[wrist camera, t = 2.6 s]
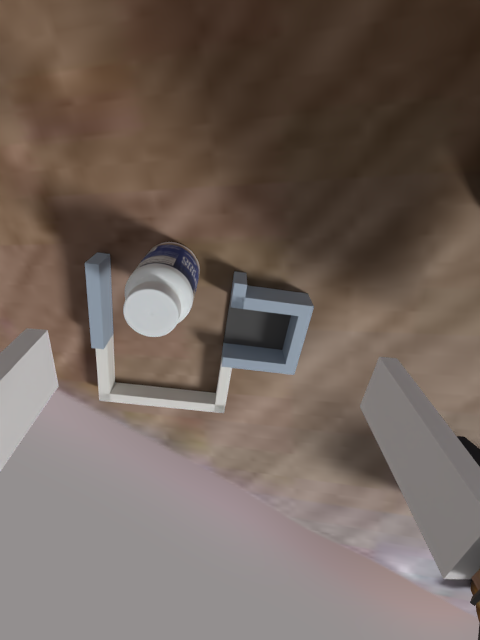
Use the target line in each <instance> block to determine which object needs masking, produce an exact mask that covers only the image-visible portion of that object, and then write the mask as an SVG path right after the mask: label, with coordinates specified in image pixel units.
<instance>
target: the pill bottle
mask: <svg viewBox="0 0 480 640" xmlns="http://www.w3.org/2000/svg"><path fill="white" fill-rule="evenodd" d="M199 273H200V268H199V263H198V260H197V258H196V257H195V255H194V254H193V252H192V251H191V250H190V249H188V248H187V247H185V246H183V245H181V244H179V243H175V242H165V243H161V244H158V245H156V246H155V247H153V248H152V249H151V250H150V251H149V252H148V253H147V255H146V256H145V257H144V259H143V260H142V261H141V262H140V264H139V265H138V266H137V268H136V269H135V270H134V272H133V273H132V274H131V276H130V277H129V279H128V281H127V283H126V286H125V300H126V301H125V303H124V308H123V313H124V317H125V319H126V321H127V323H128V324H129V326H130V327H131V328H132V329H133V330H135V331H136V332H138V333H140V334H142V335H145V336H149V337H159V336H163V335H166V334H168V333H169V332H171V331H172V330H173V329H174V328H175V326H176V325H177V323H179V322H180V321H182V320H183V319H184V318H185V317H186V316H187V315H188V313H189V311H190V309H191V307H192V304H193V300H194V296H195V292H196V288H197V283H198V280H199Z"/></svg>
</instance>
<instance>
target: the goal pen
mask: <svg viewBox="0 0 480 640" xmlns="http://www.w3.org/2000/svg"><path fill="white" fill-rule="evenodd" d="M96 361H97V375H98V389H99V401H108V402H118V403H128V404H138V405H148V406H158V407H168V408H178V409H188V410H198V411H208V412H217V413H224V410H225V405H226V399H227V393H228V387H229V382H230V376H231V370H232V368H230V367H221V366H222V356H221V363H220V369H219V376H218V383H217V389H216V393H212V392H202V391H193V390H183V389H174V388H164V387H155V386H145V385H136V384H126V383H117V382H115V364H114V339H113V335H112V337H111V338H110V340H109V342H108V343H107V345H106V346H105V348H104V349H96Z"/></svg>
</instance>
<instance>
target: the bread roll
mask: <svg viewBox="0 0 480 640" xmlns="http://www.w3.org/2000/svg"><path fill="white" fill-rule="evenodd" d="M477 591H478V589H477V587H476V585H475V584H474V582H473V580H472V582H471V592H472V594H473V595H474V594H475V593H476V592H477ZM476 611H477V615H478V619H479V622H480V601H479V602H478V603H477V604H476Z"/></svg>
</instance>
